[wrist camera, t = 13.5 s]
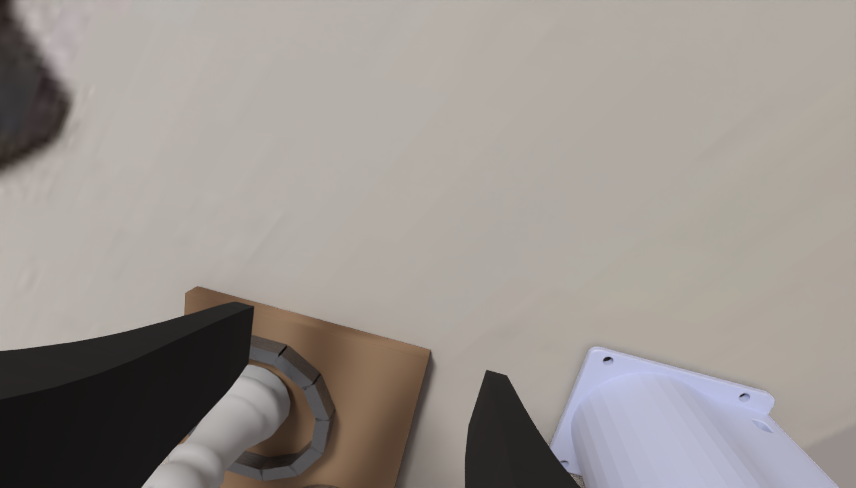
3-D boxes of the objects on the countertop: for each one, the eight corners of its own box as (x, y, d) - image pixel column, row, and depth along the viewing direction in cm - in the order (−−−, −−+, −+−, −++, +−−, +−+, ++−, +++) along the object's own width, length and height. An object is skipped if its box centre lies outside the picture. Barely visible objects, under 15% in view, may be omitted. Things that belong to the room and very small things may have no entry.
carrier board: (430, 349, 23) (428, 359, 22) (372, 568, 28) (368, 584, 28) (197, 286, 24) (185, 293, 23) (184, 511, 29) (174, 524, 28)
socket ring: (345, 360, 23) (338, 370, 22) (321, 482, 26) (315, 496, 25) (191, 317, 23) (179, 326, 22) (185, 442, 26) (173, 454, 25)
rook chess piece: (304, 380, 23) (218, 504, 16) (281, 436, 25) (192, 574, 17) (233, 347, 23) (113, 455, 16) (214, 405, 25) (96, 529, 17)
